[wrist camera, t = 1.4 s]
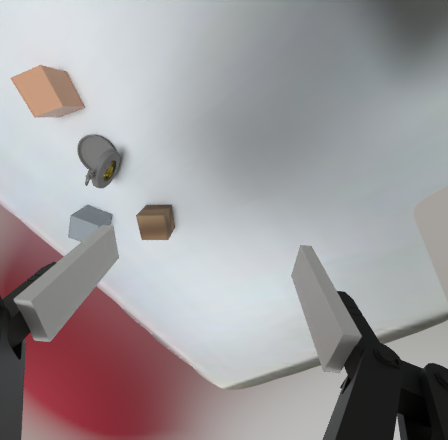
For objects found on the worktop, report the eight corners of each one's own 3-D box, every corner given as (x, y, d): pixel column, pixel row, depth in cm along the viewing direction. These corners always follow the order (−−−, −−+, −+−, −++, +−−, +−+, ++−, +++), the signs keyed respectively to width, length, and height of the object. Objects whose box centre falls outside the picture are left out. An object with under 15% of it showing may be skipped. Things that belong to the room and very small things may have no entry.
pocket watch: (74, 136, 37) (23, 143, 28) (121, 131, 36) (83, 136, 27) (93, 182, 40) (52, 202, 31) (135, 178, 39) (106, 197, 30)
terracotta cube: (40, 83, 33) (10, 78, 29) (67, 71, 32) (40, 65, 28) (59, 117, 35) (34, 117, 31) (85, 107, 34) (63, 106, 30)
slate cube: (87, 204, 42) (70, 215, 38) (112, 214, 43) (98, 225, 39) (84, 224, 44) (68, 237, 40) (108, 233, 45) (94, 246, 41)
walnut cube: (146, 204, 42) (136, 215, 37) (171, 204, 41) (164, 215, 37) (151, 227, 44) (141, 239, 39) (175, 227, 44) (168, 239, 39)
